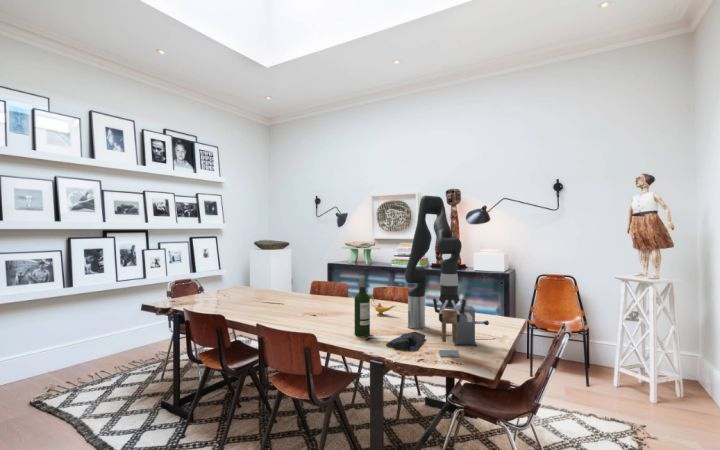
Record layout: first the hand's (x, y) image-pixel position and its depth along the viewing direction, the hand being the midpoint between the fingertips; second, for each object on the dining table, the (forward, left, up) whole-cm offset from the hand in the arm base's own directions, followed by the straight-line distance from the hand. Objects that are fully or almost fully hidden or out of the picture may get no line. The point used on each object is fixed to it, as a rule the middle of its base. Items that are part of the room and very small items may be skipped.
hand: (449, 322), depth 160 cm
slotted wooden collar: (0, 0, -8) cm, 8 cm away
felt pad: (0, 0, -14) cm, 14 cm away
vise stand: (+12, +10, -14) cm, 21 cm away
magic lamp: (-33, +66, -14) cm, 75 cm away
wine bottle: (-41, +24, -14) cm, 50 cm away
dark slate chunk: (-18, +13, -15) cm, 27 cm away
